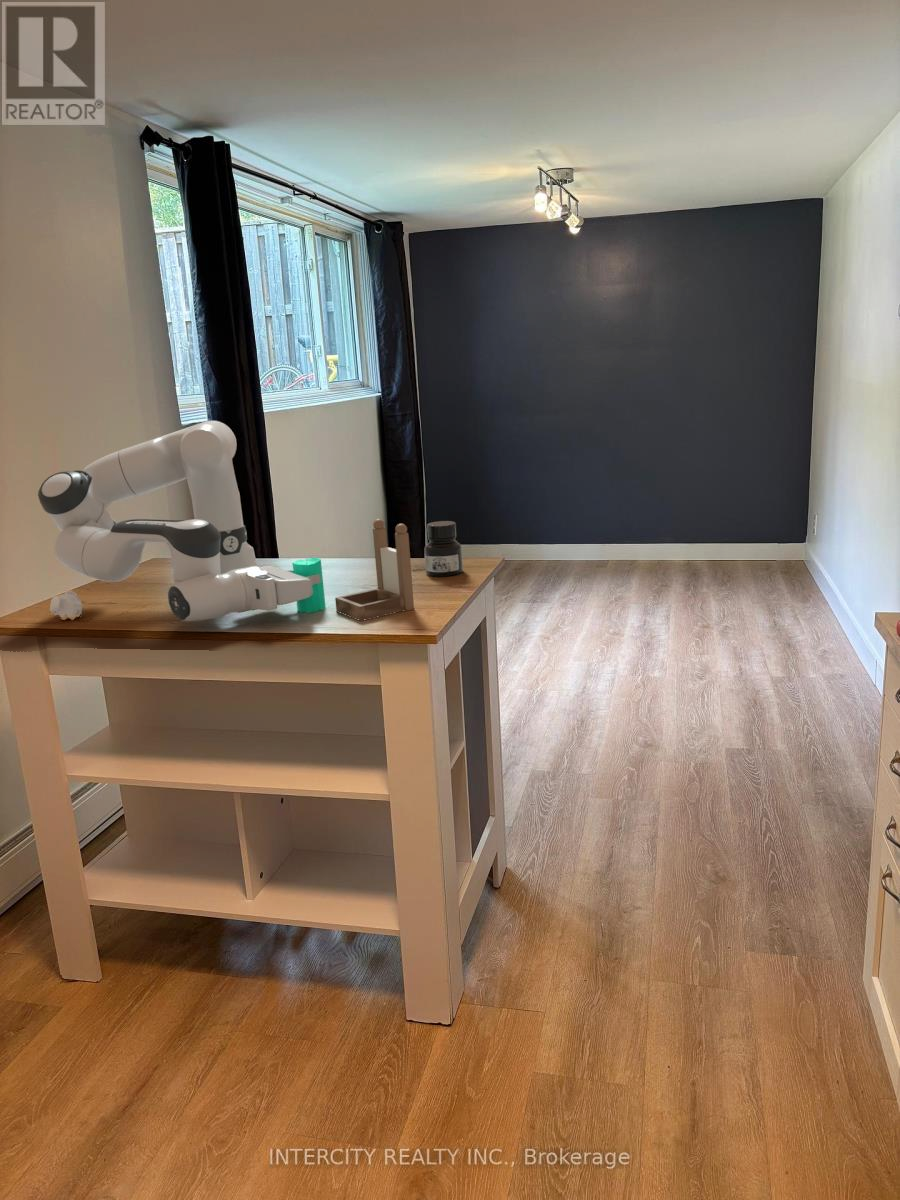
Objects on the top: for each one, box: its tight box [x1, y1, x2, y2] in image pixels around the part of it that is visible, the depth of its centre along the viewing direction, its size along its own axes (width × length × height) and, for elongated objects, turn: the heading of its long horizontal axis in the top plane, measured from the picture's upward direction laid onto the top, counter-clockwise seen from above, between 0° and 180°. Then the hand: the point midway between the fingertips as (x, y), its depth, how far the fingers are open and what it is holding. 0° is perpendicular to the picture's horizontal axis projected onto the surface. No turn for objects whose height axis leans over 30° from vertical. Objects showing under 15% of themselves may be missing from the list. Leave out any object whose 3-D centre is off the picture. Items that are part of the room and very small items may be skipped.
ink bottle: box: [423, 520, 464, 577], centre depth 223 cm, size 10×9×12 cm
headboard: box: [372, 518, 415, 611], centre depth 197 cm, size 11×2×18 cm, turn 35°
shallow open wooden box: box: [334, 587, 405, 621], centre depth 195 cm, size 10×10×3 cm
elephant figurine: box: [48, 589, 83, 618], centre depth 205 cm, size 7×8×6 cm
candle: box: [291, 555, 326, 613], centre depth 199 cm, size 6×6×12 cm
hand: (311, 575), depth 199 cm, fingers closed on candle, 5 cm apart
